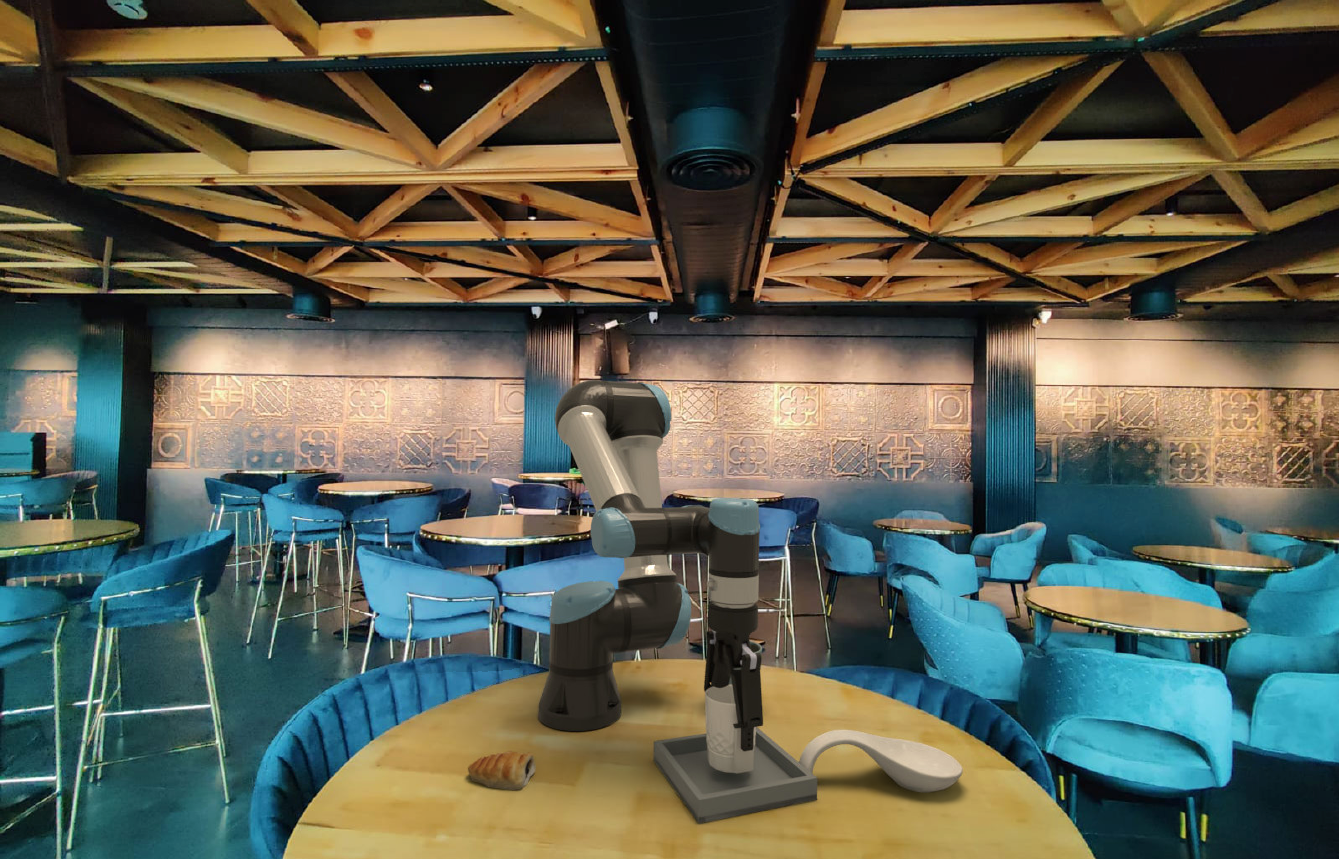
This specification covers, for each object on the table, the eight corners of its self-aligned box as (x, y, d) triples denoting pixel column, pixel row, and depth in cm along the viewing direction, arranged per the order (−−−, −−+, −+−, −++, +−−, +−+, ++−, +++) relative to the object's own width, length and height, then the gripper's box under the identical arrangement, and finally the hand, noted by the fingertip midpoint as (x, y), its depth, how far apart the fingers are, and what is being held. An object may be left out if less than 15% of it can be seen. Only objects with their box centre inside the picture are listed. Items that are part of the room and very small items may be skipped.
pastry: (459, 788, 90) (460, 761, 90) (479, 766, 97) (479, 740, 97) (523, 793, 89) (524, 766, 89) (538, 770, 96) (539, 744, 96)
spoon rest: (938, 763, 100) (938, 717, 101) (978, 804, 89) (978, 752, 89) (791, 764, 99) (791, 718, 99) (812, 806, 87) (812, 753, 88)
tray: (653, 760, 99) (653, 741, 99) (755, 744, 105) (755, 726, 105) (698, 823, 82) (699, 800, 82) (817, 799, 88) (817, 778, 89)
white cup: (756, 751, 97) (757, 685, 98) (758, 777, 90) (759, 705, 90) (705, 748, 98) (706, 683, 99) (702, 773, 90) (703, 702, 91)
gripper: (684, 589, 103) (681, 732, 102) (741, 621, 84) (739, 797, 83) (726, 587, 106) (723, 726, 105) (790, 617, 87) (788, 787, 86)
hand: (730, 757), depth 94 cm, fingers closed on white cup, 7 cm apart
